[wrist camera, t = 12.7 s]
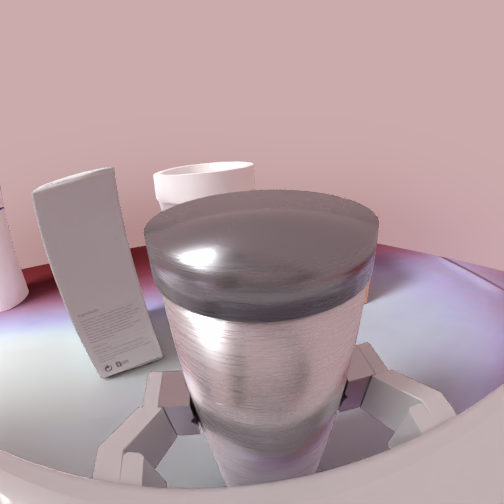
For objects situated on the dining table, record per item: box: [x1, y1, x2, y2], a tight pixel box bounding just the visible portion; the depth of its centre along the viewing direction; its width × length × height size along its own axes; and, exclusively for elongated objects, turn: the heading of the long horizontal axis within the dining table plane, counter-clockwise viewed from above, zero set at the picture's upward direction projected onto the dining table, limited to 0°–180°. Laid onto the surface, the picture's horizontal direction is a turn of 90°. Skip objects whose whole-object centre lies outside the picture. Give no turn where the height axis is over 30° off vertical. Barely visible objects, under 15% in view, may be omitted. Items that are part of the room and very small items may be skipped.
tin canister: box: [144, 190, 379, 487], centre depth 9 cm, size 5×5×14 cm
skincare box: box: [32, 167, 163, 378], centre depth 19 cm, size 8×6×15 cm
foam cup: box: [153, 162, 255, 211], centre depth 28 cm, size 10×9×13 cm
